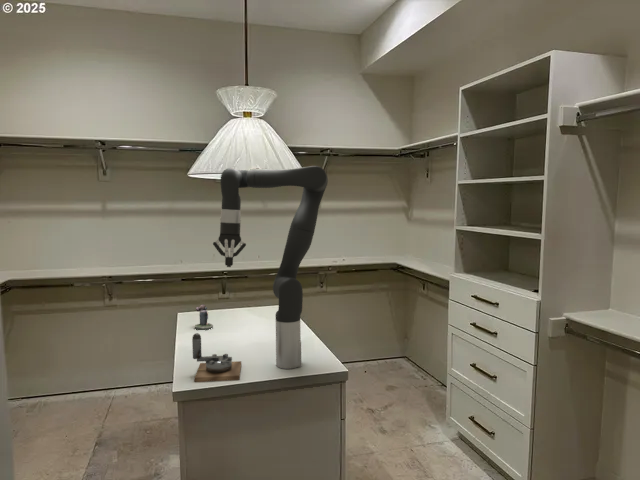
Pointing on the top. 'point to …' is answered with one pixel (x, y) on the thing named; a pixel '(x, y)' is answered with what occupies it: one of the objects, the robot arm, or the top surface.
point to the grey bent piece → (210, 358)
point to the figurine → (203, 319)
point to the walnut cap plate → (228, 375)
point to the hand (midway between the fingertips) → (228, 266)
